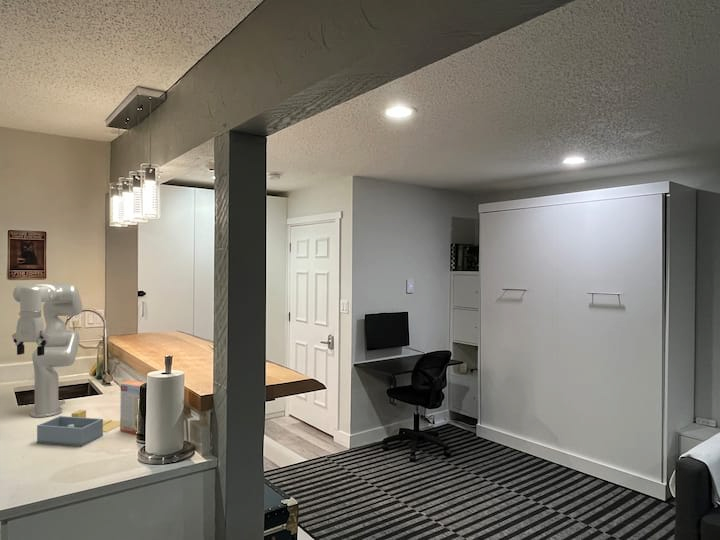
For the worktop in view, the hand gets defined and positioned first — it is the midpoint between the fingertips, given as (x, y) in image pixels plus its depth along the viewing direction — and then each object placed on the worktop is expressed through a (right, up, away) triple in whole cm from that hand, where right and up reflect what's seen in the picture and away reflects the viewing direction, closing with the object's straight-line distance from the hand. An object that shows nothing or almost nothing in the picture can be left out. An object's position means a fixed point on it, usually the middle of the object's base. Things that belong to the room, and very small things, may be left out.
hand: (30, 354), depth 207 cm
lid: (+24, -33, +6) cm, 42 cm away
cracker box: (+46, -33, 0) cm, 57 cm away
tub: (+23, -33, -10) cm, 41 cm away
